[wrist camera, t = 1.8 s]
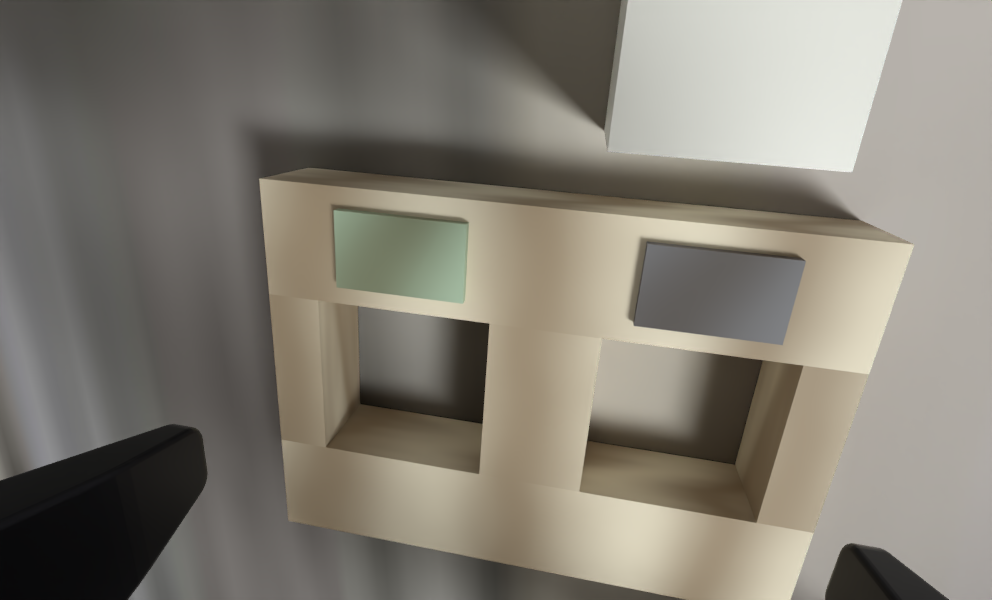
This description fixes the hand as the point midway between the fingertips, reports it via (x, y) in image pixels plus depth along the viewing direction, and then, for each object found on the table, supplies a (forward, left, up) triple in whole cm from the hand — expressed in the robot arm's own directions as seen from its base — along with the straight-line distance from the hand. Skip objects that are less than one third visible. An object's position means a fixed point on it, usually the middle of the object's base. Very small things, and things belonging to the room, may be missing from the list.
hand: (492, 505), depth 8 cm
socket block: (0, +4, -12) cm, 13 cm away
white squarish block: (-3, -7, -12) cm, 14 cm away
